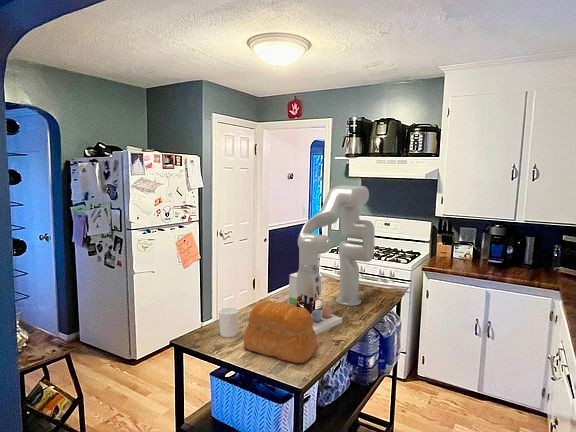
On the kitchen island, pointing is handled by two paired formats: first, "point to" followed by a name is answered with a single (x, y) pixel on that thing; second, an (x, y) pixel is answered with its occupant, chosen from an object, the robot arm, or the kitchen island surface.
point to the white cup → (228, 321)
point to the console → (326, 323)
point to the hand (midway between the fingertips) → (307, 311)
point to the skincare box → (292, 289)
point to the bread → (281, 331)
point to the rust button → (326, 312)
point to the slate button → (316, 316)
